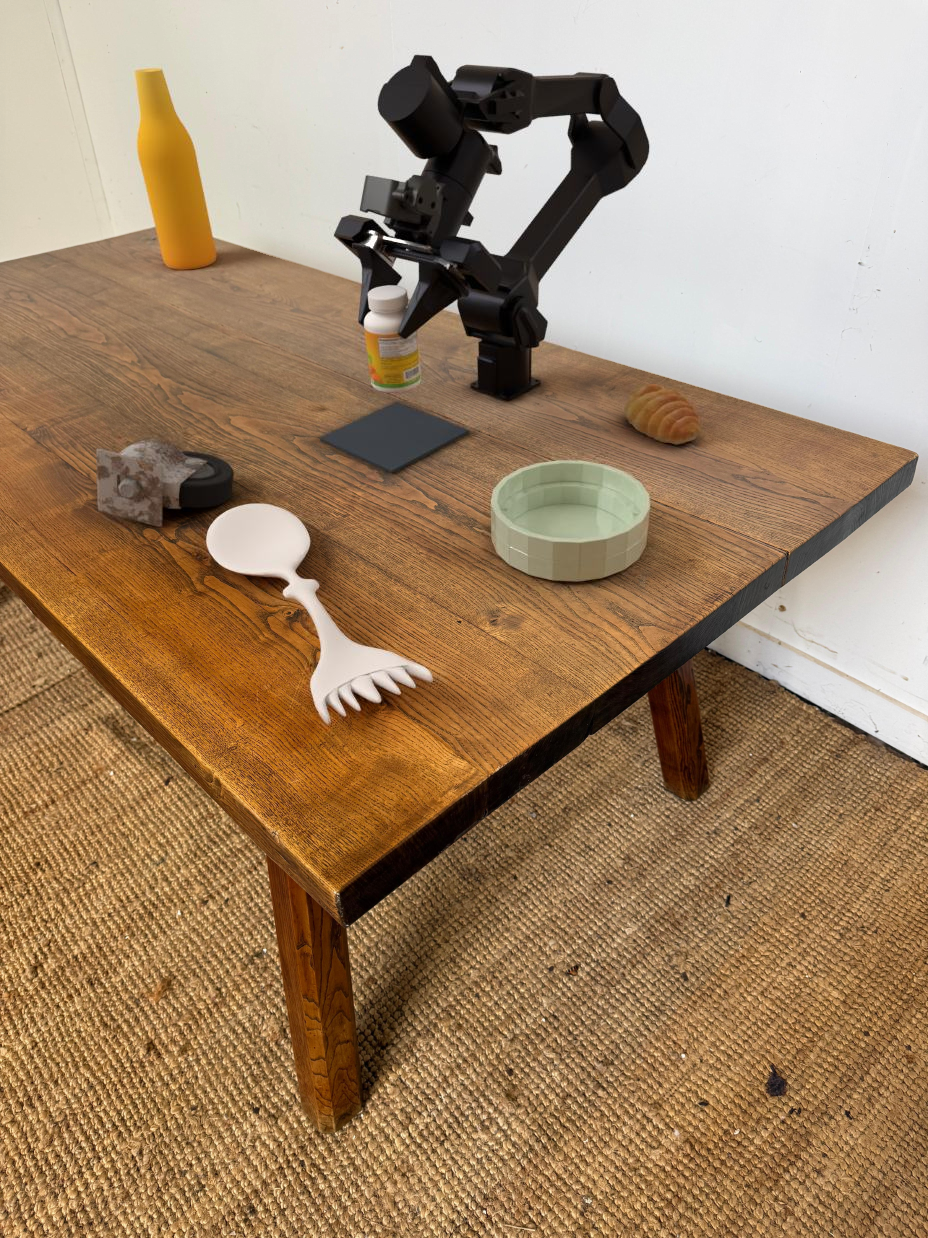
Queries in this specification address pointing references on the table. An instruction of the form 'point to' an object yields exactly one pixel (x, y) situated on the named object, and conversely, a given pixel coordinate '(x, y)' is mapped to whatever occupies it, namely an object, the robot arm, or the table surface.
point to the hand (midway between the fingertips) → (381, 330)
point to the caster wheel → (159, 480)
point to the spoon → (307, 605)
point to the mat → (394, 436)
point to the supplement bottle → (390, 342)
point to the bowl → (569, 520)
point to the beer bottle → (172, 177)
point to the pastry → (663, 415)
